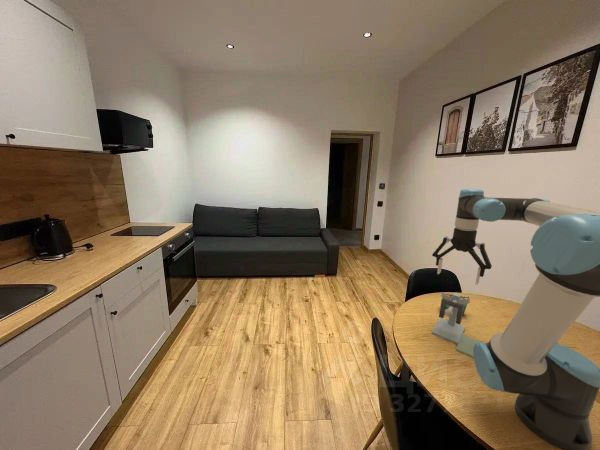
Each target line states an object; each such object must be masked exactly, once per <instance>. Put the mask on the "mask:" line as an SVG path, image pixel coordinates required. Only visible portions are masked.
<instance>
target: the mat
mask: <svg viewBox="0 0 600 450" xmlns="http://www.w3.org/2000/svg"><path fill="white" fill-rule="evenodd" d="M478 342H482V341H481V340H478V339H475V338H473V337H470V336H468V335H465V334H464V333H463V334H462V336H461V338H460V341H459V343H458V345H457V344H456V348H455V351H457V352H459V353H461V354H463V355H465V356H468V357H470V358H473V359H474V356H473V349H474V345H475V344H476V343H478Z"/></svg>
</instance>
